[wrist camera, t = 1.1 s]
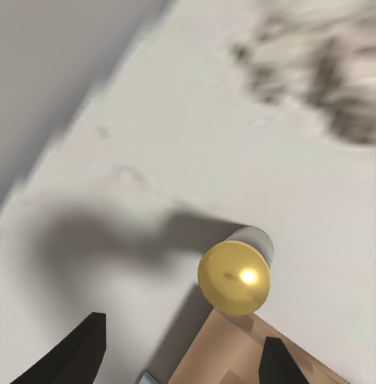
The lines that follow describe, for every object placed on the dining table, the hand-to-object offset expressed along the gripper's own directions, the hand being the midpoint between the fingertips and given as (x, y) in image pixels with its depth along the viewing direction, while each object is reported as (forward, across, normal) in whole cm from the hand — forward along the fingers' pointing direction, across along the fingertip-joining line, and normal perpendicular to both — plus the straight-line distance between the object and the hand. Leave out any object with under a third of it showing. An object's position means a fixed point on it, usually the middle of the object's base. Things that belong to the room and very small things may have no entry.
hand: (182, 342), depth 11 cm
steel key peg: (+12, -5, +1) cm, 13 cm away
